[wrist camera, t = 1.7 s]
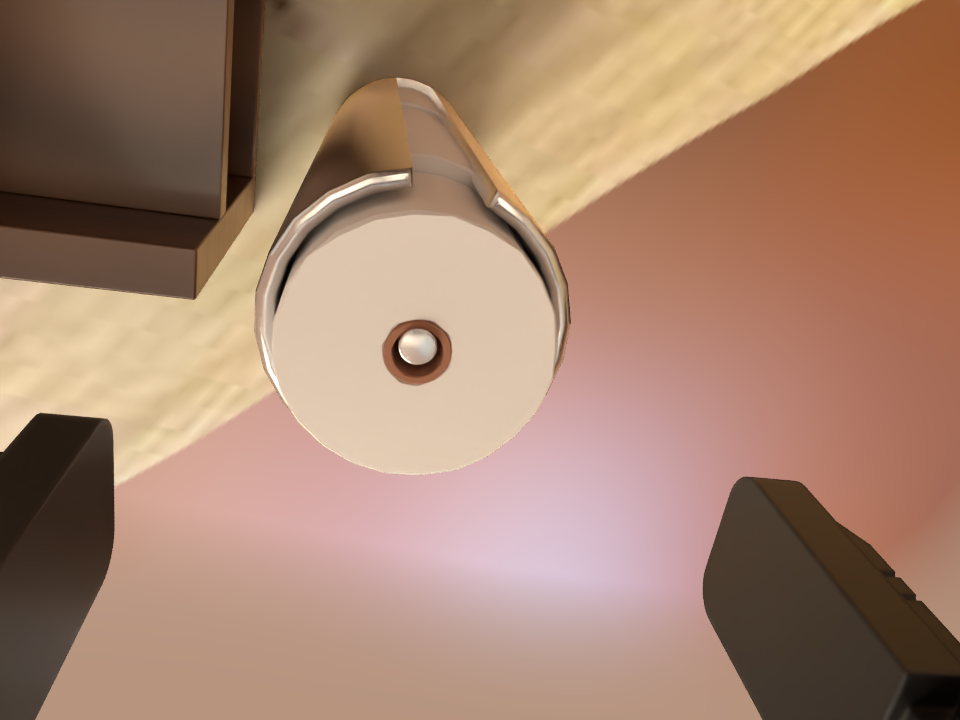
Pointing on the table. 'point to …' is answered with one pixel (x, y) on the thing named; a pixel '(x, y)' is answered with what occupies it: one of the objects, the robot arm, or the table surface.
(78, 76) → the shelf
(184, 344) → the table surface
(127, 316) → the table surface
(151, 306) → the table surface
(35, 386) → the table surface
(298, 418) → the beige cylinder
